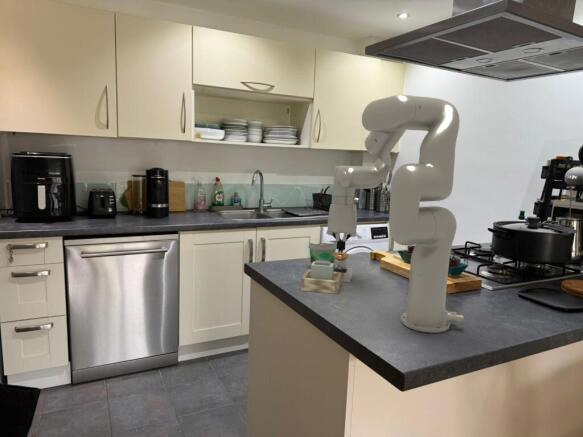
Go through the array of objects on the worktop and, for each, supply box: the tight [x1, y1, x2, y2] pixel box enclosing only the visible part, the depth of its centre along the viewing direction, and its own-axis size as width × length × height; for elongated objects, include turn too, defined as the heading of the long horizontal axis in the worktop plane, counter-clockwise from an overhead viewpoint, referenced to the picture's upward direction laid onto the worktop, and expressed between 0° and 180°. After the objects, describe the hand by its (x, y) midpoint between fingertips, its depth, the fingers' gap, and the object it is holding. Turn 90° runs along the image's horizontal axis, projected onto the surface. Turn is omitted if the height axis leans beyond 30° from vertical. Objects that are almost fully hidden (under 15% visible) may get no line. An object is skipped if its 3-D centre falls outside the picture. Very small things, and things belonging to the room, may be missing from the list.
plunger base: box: [334, 266, 353, 283], centre depth 150 cm, size 8×8×3 cm
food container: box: [307, 240, 338, 266], centre depth 163 cm, size 12×6×10 cm, turn 111°
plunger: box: [333, 251, 350, 273], centre depth 149 cm, size 6×6×6 cm
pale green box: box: [310, 260, 335, 280], centre depth 139 cm, size 5×7×8 cm
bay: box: [300, 269, 342, 295], centre depth 139 cm, size 12×11×4 cm
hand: (340, 251), depth 149 cm, fingers closed
